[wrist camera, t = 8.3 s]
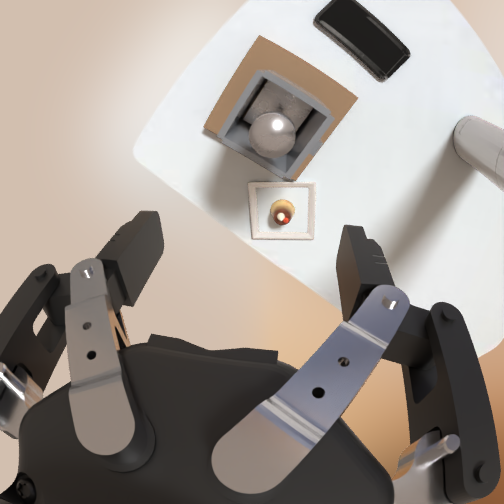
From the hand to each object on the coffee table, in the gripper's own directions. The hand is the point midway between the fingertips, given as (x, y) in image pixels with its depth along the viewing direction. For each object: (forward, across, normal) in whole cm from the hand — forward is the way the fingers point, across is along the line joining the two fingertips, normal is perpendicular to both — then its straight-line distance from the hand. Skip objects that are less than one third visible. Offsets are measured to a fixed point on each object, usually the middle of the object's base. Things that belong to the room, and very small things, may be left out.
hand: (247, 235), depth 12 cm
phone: (+39, -13, -14) cm, 43 cm away
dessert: (+39, -1, +19) cm, 43 cm away
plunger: (+34, 0, 0) cm, 34 cm away
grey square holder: (+38, 0, 0) cm, 38 cm away
